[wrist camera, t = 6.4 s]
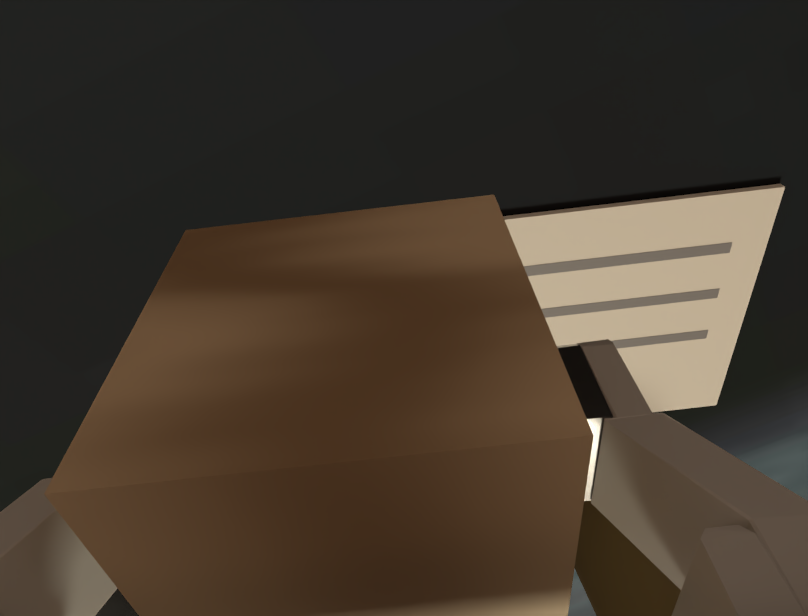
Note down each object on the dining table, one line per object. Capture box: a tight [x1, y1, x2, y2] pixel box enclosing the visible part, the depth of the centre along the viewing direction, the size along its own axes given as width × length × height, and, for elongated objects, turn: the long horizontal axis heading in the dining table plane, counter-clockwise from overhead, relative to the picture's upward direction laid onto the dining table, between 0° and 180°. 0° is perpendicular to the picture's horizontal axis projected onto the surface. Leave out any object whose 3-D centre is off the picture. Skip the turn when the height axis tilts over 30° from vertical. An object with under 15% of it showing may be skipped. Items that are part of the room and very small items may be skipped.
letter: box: [503, 184, 785, 412], centre depth 26 cm, size 16×12×1 cm
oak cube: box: [44, 195, 594, 616], centre depth 9 cm, size 5×5×5 cm
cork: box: [574, 500, 681, 616], centre depth 30 cm, size 6×6×11 cm
